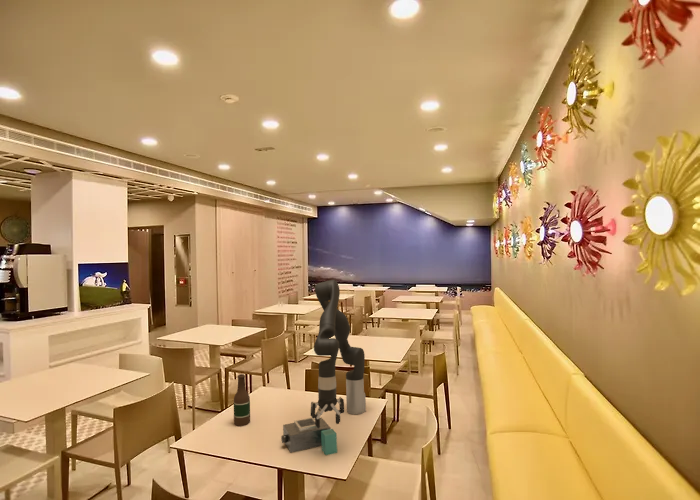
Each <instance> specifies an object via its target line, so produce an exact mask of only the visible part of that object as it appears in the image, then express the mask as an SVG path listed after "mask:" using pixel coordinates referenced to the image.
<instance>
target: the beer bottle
mask: <svg viewBox="0 0 700 500" xmlns="http://www.w3.org/2000/svg"><path fill="white" fill-rule="evenodd" d="M236 377H237V388H236V389H237V391H236V392H235V394H234V397H233V423H234V426H235V427H246V426H248V425H249V424H250V423H251V400H250V394H249V393H248V391H247V389H246V379H245V378H246V375H245V374H244V373H242V374H241V373H240V374H238V375H237V376H236Z"/></svg>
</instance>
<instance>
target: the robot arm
mask: <svg viewBox="0 0 700 500" xmlns="http://www.w3.org/2000/svg"><path fill="white" fill-rule="evenodd" d="M340 290H341V289H340V286H339V284H338V281H336V279H331V280H327V281H325V280H324V281H322V282H319V283H316V284H315V286H314V293H315V296H316V298H317V300H318V302H319V304H320V306H321V308H322V310H323V312H322V313H321V314H320V318H319V324H318V325H319V326H318V327H319V328H318V329H319V330H318V333H317V336H316V339H315V341H314V345H313V351H314V354H315V355H316V356H321V357H324V356H330V357H329V358H328V359H325V360H321V361H319V363H318V382H317V383H318V386H317V388H318V389H317V392H318V401H315V402H314V401H311V403H310V418H311V417H312V418H314V419H315V425H316V427H317V428H320V419H319V418H321V416H322V415H323V414H324V413H327V412H332V411H334V412H335V424H336V425H339V424H340V423H341V414H344V413H345V403H344V402H345V399H343V397H341V396H340V397H339V398H337V378H336V364H337V363H336V362H337V358H338V354H339V353H340V356H341V359H342V361H343V363H344V364H346V365H349V366H353V369H351V370H349V371H347V372H346V373H345V388H346V393H345V394H346V395H345V396H346V397H345V398H346V413H347V414H350V415H360V414H363V413H364V412H365V413H366V411H367V405H366V404H367V403H366V402H367V401H366V400H367V399H366V393H365V388H364V384H365V383H364V374H365V357H366V355H365V351H364V349H363V348H362V347H358V346H357V347H356V346H351V345H350V343H349V341H348V338H349V335H350V334H351V333H350V332H351V325H350V322H349V320H348V317H347V316H346V314H345V313H344V312H343V311H341V310H339V309H338V306H339V300H340V296H341V295H340V293H341V292H340ZM337 404H339V405H338V407H339V409H338V408H337V407H336V406H337ZM317 407H318V408H317ZM316 409H317V410H316Z"/></svg>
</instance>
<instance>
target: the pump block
mask: <svg viewBox="0 0 700 500" xmlns="http://www.w3.org/2000/svg"><path fill="white" fill-rule="evenodd" d="M337 438H338V436H337V432H336V431H335V430H334V429H333V428H331V429H328V430H324V431H321V444H322V446H321V451H322V452H323V454H324V455H325V456H330V455H334V454H337V453H338V443H337V442H338V441H337V440H338V439H337Z"/></svg>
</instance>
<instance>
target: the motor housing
mask: <svg viewBox="0 0 700 500" xmlns="http://www.w3.org/2000/svg"><path fill="white" fill-rule="evenodd" d="M319 419H320V428H317V427H316V425H315V418H312V417H311V416H310V417H307V418H301V419H296V420H293V422H292V423H286V424H283V425H282V428H283V429H282V433H283V435H281V436H280V438H281V439H280V440H281V444H284V445H285V446H286V448H287V449H288V451H289V453H291V454H292V453H296V452H300V451H305V450H309V449H314V448H317V447H318V448H319V447H322V444H321V431H324V430H328V429H332V427H331V426H330V425H329V424H328V423H327V422H326V421H325V419H324V418H323V417H320V418H319Z"/></svg>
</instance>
